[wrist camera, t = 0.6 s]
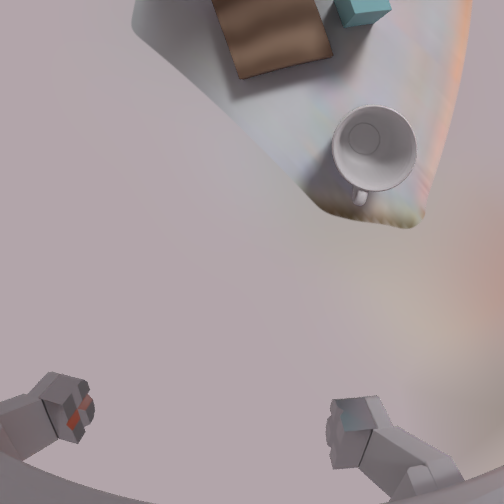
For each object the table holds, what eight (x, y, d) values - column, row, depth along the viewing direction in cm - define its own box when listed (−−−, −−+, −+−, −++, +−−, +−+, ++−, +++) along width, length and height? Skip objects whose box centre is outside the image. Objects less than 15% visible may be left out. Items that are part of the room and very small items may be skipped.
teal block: (333, 0, 37) (342, -20, 27) (363, -4, 35) (379, -24, 26) (343, 27, 39) (355, 13, 29) (373, 23, 38) (391, 9, 28)
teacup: (314, 179, 52) (317, 199, 43) (334, 92, 44) (342, 93, 36) (382, 196, 52) (397, 219, 43) (405, 113, 44) (427, 120, 35)
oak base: (217, 5, 39) (211, -1, 36) (303, -19, 36) (303, -27, 32) (244, 79, 45) (239, 79, 42) (330, 57, 42) (333, 55, 38)
